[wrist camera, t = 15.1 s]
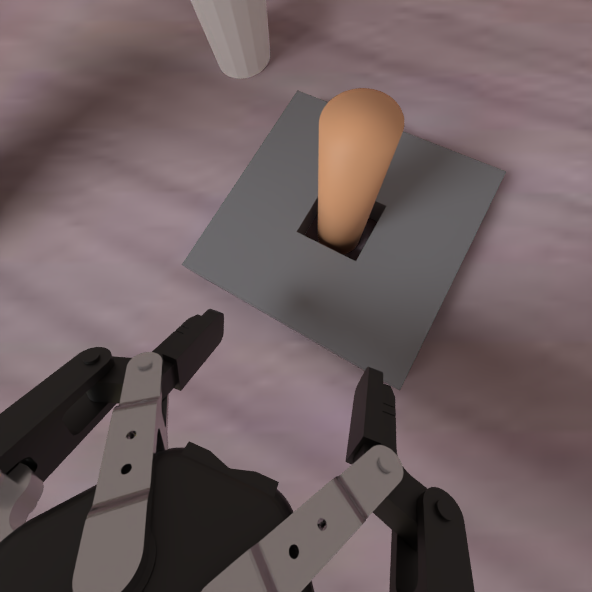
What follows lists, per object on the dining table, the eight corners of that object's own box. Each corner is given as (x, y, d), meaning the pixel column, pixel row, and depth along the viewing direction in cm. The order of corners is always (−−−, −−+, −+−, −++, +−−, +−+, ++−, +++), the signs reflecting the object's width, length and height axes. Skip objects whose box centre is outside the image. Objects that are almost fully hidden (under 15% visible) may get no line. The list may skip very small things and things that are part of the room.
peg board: (196, 273, 22) (181, 264, 19) (299, 116, 24) (297, 90, 22) (389, 384, 19) (399, 390, 16) (484, 191, 21) (506, 171, 19)
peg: (310, 242, 22) (303, 139, 11) (330, 209, 22) (343, 77, 11) (347, 262, 21) (380, 172, 10) (367, 226, 22) (418, 105, 11)
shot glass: (281, 32, 27) (269, -76, 20) (270, 85, 25) (253, -12, 19) (220, 31, 27) (188, -74, 21) (205, 82, 26) (166, -12, 19)
